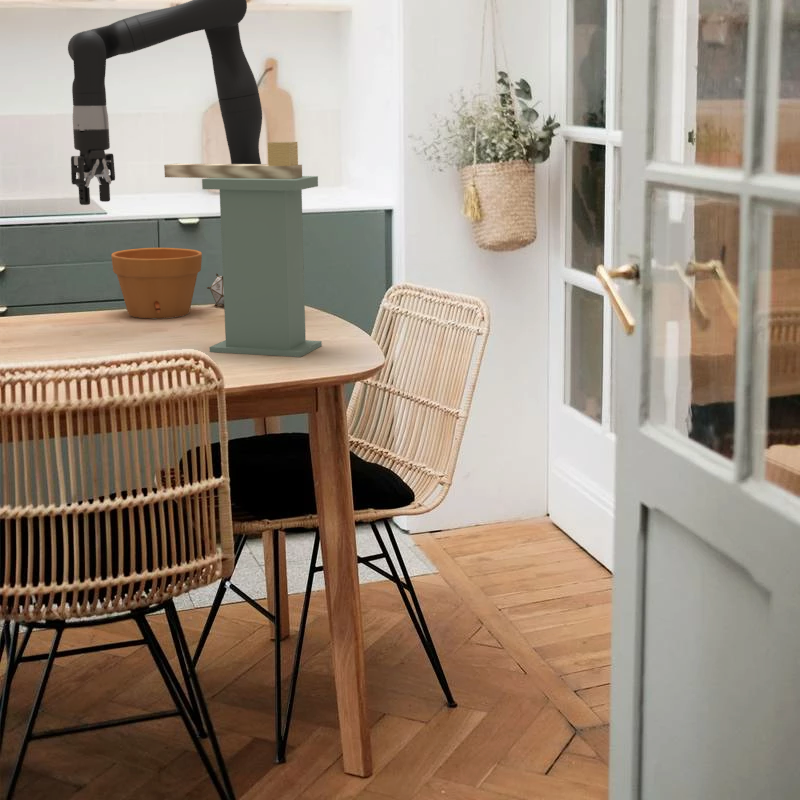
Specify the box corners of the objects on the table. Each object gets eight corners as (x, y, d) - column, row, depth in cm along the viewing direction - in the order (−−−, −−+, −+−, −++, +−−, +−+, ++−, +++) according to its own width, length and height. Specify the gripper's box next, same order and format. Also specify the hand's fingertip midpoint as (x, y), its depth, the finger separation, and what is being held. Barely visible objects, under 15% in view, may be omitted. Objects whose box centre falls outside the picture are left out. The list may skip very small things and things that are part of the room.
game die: (233, 319, 325) (255, 286, 325) (225, 313, 316) (248, 278, 317) (204, 300, 326) (226, 267, 326) (195, 293, 317) (218, 259, 318)
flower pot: (218, 308, 319) (215, 248, 315) (181, 323, 299) (178, 259, 295) (139, 305, 324) (136, 246, 321) (99, 319, 304) (95, 256, 301)
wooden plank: (302, 177, 260) (301, 164, 260) (292, 178, 256) (292, 166, 255) (176, 175, 268) (175, 163, 268) (164, 177, 264) (164, 164, 263)
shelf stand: (321, 345, 271) (317, 176, 263) (300, 356, 260) (295, 180, 252) (233, 341, 277) (227, 175, 269) (209, 351, 266) (202, 179, 258)
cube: (298, 164, 260) (297, 141, 259) (289, 166, 256) (288, 142, 254) (277, 164, 261) (276, 141, 260) (268, 165, 257) (267, 142, 256)
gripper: (92, 126, 288) (96, 200, 292) (57, 128, 275) (62, 205, 278) (122, 126, 286) (126, 201, 289) (89, 128, 272) (93, 206, 276)
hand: (95, 203), depth 284 cm, fingers open, 8 cm apart
